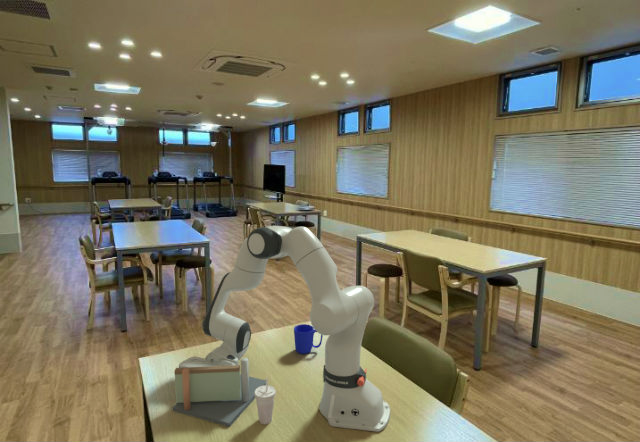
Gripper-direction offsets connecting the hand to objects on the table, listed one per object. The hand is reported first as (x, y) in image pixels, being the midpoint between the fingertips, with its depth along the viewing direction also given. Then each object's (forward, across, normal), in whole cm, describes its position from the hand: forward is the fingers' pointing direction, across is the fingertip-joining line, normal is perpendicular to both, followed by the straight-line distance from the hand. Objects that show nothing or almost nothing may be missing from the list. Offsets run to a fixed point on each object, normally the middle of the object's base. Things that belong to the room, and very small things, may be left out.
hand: (192, 382), depth 124 cm
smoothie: (-1, +26, +7) cm, 27 cm away
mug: (-46, +22, +7) cm, 51 cm away
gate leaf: (-1, +6, +5) cm, 8 cm away
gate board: (-6, +7, +7) cm, 12 cm away
